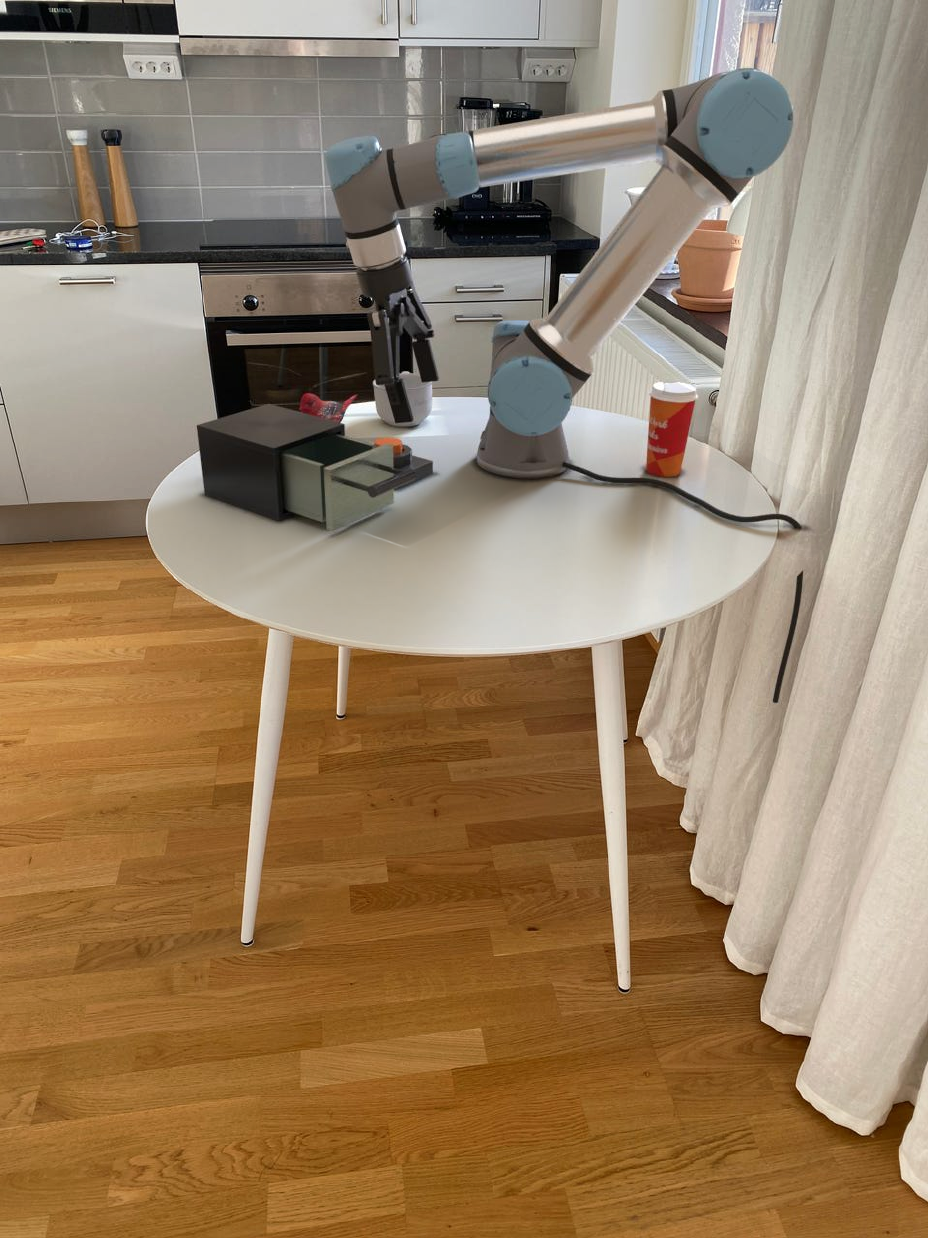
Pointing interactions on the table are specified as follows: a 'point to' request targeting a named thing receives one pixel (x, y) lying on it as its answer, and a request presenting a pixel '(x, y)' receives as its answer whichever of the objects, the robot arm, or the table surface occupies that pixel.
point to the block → (412, 464)
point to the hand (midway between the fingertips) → (418, 400)
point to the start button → (392, 441)
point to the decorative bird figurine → (324, 407)
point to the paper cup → (669, 426)
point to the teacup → (417, 397)
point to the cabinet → (255, 455)
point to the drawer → (339, 479)
